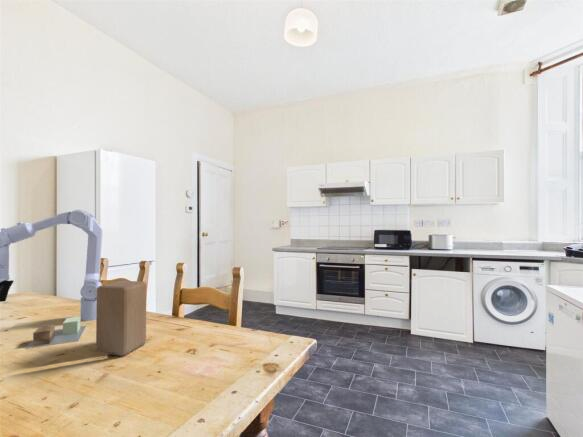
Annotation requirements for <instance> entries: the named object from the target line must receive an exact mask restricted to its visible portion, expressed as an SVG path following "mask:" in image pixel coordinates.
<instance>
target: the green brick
mask: <svg viewBox="0 0 583 437" xmlns="http://www.w3.org/2000/svg"><path fill="white" fill-rule="evenodd" d="M80 326H81V316H80V315H79V316H71V317H66V318H65V320H64V321H63V322H62V329H63V335H67V334H74V333H78V331H79V329H80Z"/></svg>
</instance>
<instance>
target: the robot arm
mask: <svg viewBox="0 0 583 437" xmlns="http://www.w3.org/2000/svg"><path fill="white" fill-rule="evenodd" d="M58 225H59V226H60V225H72V226H74V227H76V228H79V229H81V230H82V231H83V232H85V234H87V247H86V248H87V249H86V261H85V262H86V264H85V267H86V268H85V276H84V281H83V286H82V287H81V289H80V296H81V297H80V313H79V314H80V315H79V317H80V316H81V321H82V322H90V321H96V320H97V288H98V287H99V286H102V285H103V283H102V282H101V258H102V245H103V243H102V242H103V228H102V227H101V225H100V224H99V222H98V221H97V220H96V218H95V216H94V215H92V214H91V213H89V212H88V211H86V210H81V209H74V210H72V211H66V212H61V213H58V214H55V215H53V216H50V217H46V218H45V219H42V220H39V221H36V222H33V223H29V222H28V221H27V222H22V221H19V222H17V223H16V224H15V225H13V226H10V227H7V228H5V227H2V228H0V303H3V302H7V301H6V300H7V298H8V295H9V291H10V289H11V286H12V285H13V284H14V280H10V274H9V273H10V271H9V270H10V269H9V268H10V245H11V244H16V243H18V242H22V241H24V240H27V239H29V238H33V237H35V235H36V233H37V232H39V231H42V230H46V229H49V228H51V227H55V226H58ZM81 321H80V322H81Z"/></svg>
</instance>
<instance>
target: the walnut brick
mask: <svg viewBox="0 0 583 437" xmlns="http://www.w3.org/2000/svg"><path fill="white" fill-rule="evenodd" d="M55 328H56V327H55V324H50V325H45V326H38V328H37V329H36V330H34V331H33V333H32V338H33V339H32V341H33V346H37V345H44V344H50V343H51V341H52V340H53V338H54V337H55V330H56V329H55Z"/></svg>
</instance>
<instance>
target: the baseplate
mask: <svg viewBox="0 0 583 437" xmlns="http://www.w3.org/2000/svg"><path fill="white" fill-rule="evenodd" d="M86 327H87V325H82V326H81V325H80V329H79V331H78V333H74V334H67V335H63V328H57V329H55V337H54V338H53V340H52V341H51V343H50V344H44V345H37V346H33V340H31V342H29V344H28V345H27V346H26V347H25V349H24V350H27V349H28V350H29V349H33V348H40V347H41V348H42V347H49V346H53V345H55V346H56V345H62V344H68V343H76V342H79V340H80V339H81V336H82V334H83V333H84V331H85V329H86Z"/></svg>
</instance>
